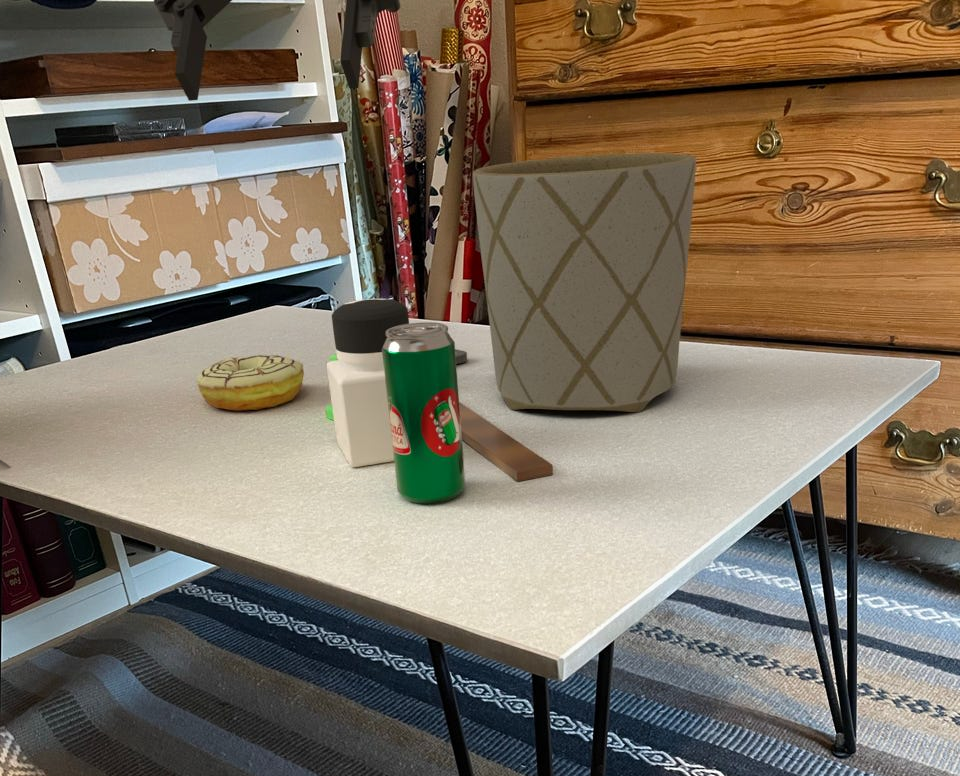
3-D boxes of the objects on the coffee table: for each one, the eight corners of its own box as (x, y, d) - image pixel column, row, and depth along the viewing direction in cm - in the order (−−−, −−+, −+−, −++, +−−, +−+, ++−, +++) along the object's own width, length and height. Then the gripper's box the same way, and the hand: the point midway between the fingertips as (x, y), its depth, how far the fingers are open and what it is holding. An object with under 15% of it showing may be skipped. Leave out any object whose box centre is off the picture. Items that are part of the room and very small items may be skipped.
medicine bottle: (436, 455, 81) (423, 304, 75) (350, 469, 79) (330, 315, 73) (416, 432, 87) (402, 290, 81) (336, 444, 85) (317, 300, 79)
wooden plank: (553, 474, 75) (552, 464, 75) (517, 481, 74) (516, 471, 74) (439, 396, 96) (439, 388, 96) (410, 401, 96) (410, 393, 95)
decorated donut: (283, 380, 106) (278, 344, 104) (322, 400, 98) (317, 362, 96) (189, 398, 102) (181, 361, 100) (222, 421, 93) (214, 381, 92)
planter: (515, 367, 105) (505, 159, 95) (697, 368, 99) (706, 149, 89) (461, 420, 89) (443, 178, 79) (674, 426, 83) (682, 167, 74)
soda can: (397, 485, 75) (379, 324, 69) (462, 478, 75) (450, 318, 70) (399, 509, 71) (380, 339, 65) (469, 502, 71) (456, 333, 65)
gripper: (134, -151, 82) (97, 53, 77) (427, -184, 79) (410, 27, 73) (173, -65, 89) (141, 127, 84) (443, -92, 86) (428, 107, 80)
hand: (266, 81), depth 78 cm, fingers open, 13 cm apart
